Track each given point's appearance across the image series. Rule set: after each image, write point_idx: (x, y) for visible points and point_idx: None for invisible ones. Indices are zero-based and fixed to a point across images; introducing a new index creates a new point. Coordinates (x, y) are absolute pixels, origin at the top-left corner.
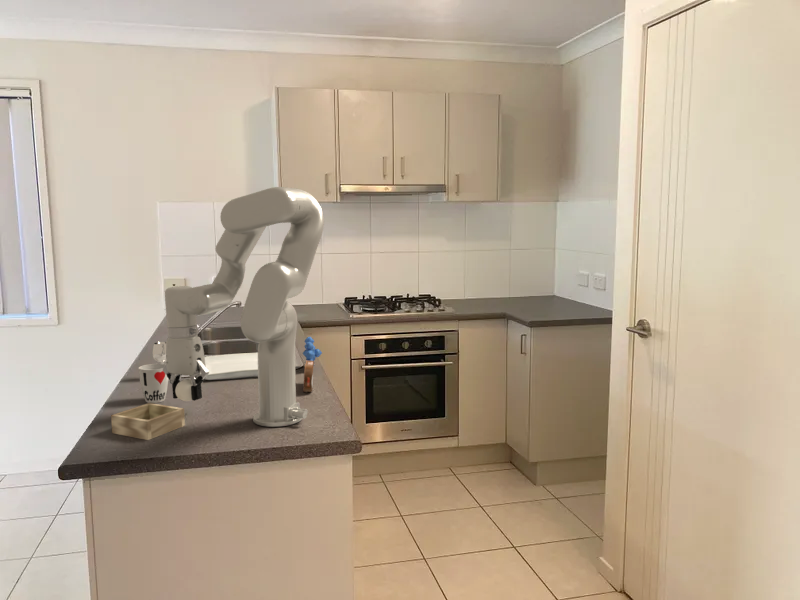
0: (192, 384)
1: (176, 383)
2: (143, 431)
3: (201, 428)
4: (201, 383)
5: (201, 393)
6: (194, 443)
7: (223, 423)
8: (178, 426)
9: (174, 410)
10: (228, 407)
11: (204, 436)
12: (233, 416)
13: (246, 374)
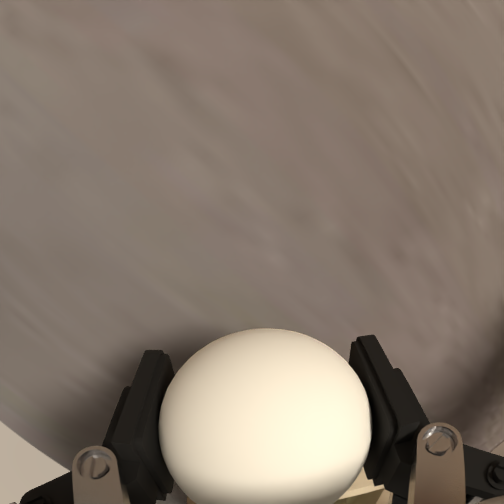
0: (359, 473)
1: (156, 486)
2: None
3: (447, 400)
4: (443, 436)
5: (402, 374)
6: None
7: (495, 328)
8: None
9: (380, 496)
10: (406, 115)
11: (475, 419)
12: (500, 243)
13: None
